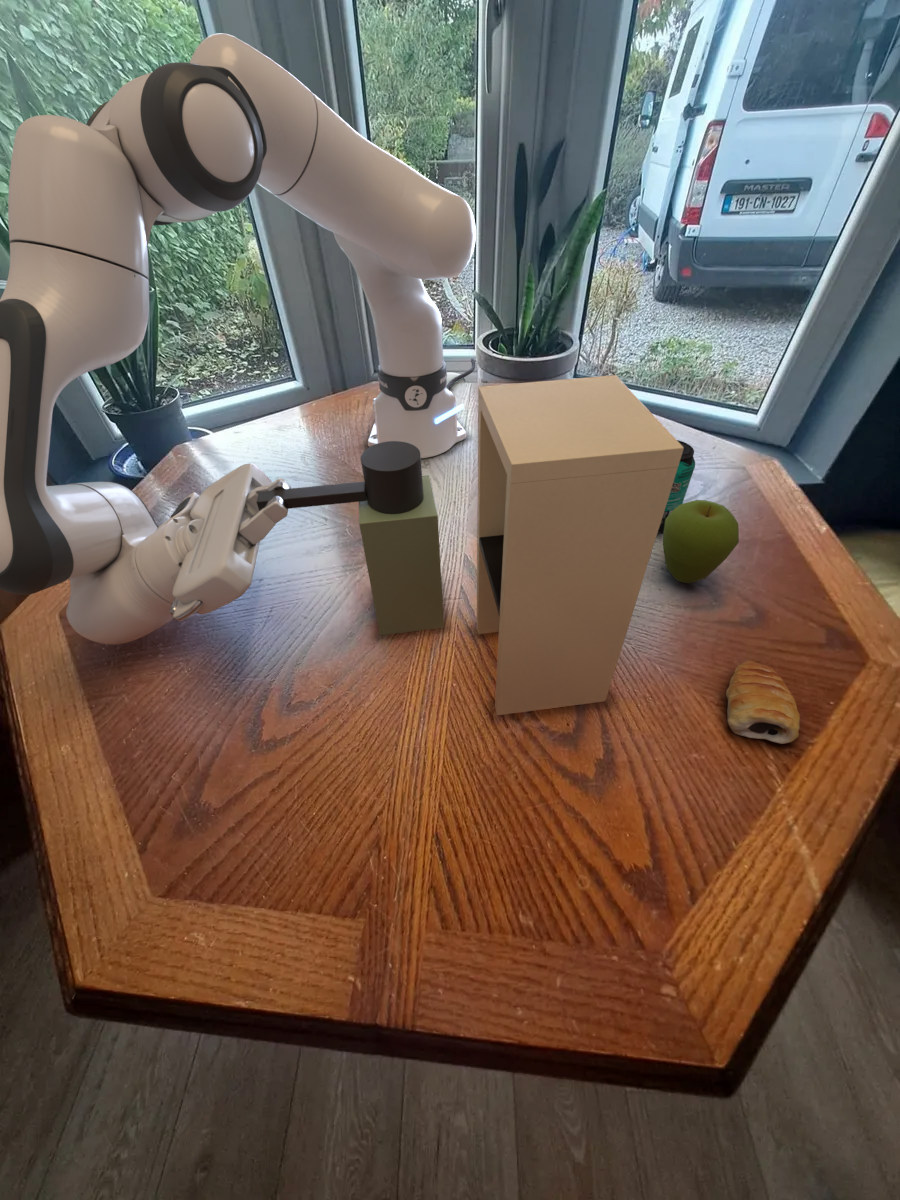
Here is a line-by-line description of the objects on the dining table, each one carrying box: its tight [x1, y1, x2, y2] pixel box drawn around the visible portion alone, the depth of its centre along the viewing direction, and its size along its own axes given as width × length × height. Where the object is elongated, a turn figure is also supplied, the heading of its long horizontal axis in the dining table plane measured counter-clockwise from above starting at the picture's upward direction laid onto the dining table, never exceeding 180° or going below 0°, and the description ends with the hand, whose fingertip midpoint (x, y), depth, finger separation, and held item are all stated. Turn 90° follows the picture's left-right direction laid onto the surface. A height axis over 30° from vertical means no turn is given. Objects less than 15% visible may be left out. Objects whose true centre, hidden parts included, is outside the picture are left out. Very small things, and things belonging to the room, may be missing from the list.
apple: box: [662, 499, 740, 584], centre depth 66 cm, size 9×8×12 cm
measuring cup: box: [256, 441, 424, 514], centre depth 53 cm, size 6×17×5 cm, turn 98°
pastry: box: [725, 660, 801, 745], centre depth 54 cm, size 9×7×4 cm
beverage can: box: [658, 439, 696, 533], centre depth 75 cm, size 7×7×12 cm
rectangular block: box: [358, 474, 445, 636], centre depth 61 cm, size 8×8×17 cm
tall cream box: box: [476, 374, 684, 716], centre depth 50 cm, size 13×12×30 cm
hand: (285, 495), depth 53 cm, fingers closed on measuring cup
